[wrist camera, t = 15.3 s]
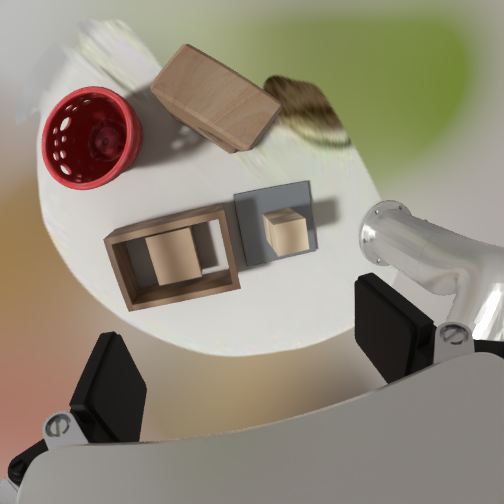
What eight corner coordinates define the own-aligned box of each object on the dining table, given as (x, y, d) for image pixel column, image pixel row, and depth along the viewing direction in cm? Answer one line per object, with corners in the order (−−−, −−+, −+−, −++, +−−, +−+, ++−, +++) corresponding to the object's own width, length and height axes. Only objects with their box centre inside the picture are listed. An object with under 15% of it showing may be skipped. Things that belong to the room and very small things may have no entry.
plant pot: (91, 194, 41) (57, 207, 30) (68, 123, 37) (30, 116, 25) (162, 162, 42) (147, 164, 30) (138, 87, 37) (116, 67, 26)
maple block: (289, 207, 46) (305, 218, 39) (293, 234, 48) (309, 249, 40) (262, 213, 46) (273, 225, 38) (266, 240, 47) (278, 256, 40)
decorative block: (252, 127, 42) (286, 105, 23) (230, 156, 43) (248, 154, 24) (194, 87, 39) (186, 39, 20) (172, 116, 40) (145, 87, 21)
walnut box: (221, 203, 45) (224, 210, 39) (236, 273, 49) (240, 288, 44) (115, 229, 44) (103, 239, 38) (136, 294, 48) (128, 311, 42)
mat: (306, 180, 46) (307, 181, 45) (315, 249, 50) (316, 250, 49) (233, 194, 45) (233, 195, 44) (247, 265, 49) (247, 266, 48)
